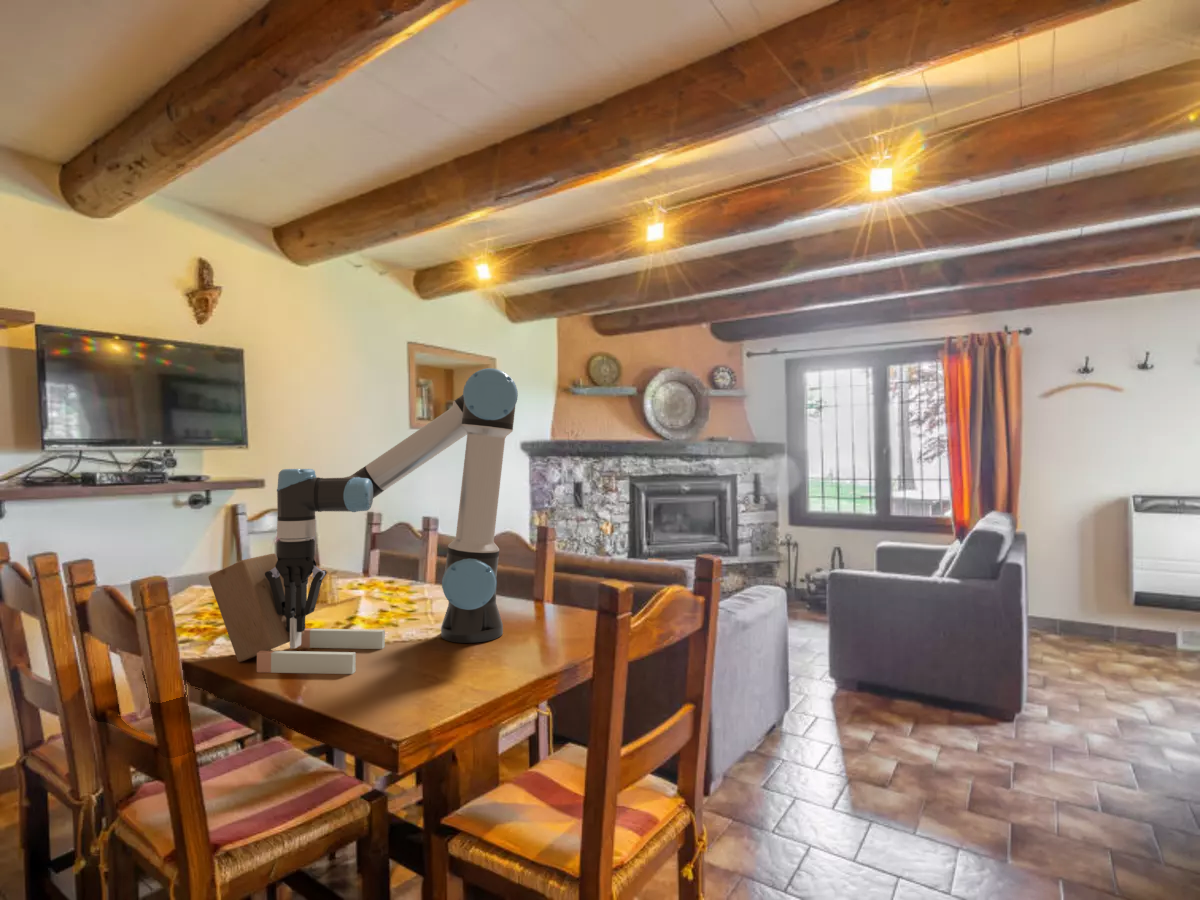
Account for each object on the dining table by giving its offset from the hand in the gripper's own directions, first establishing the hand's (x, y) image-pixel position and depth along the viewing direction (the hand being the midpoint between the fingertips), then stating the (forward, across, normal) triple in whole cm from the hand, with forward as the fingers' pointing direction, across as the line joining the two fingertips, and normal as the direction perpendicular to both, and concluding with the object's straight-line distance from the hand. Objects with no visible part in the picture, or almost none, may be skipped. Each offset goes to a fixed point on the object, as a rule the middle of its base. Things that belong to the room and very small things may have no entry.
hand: (295, 646), depth 141 cm
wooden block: (+1, +5, 0) cm, 5 cm away
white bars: (+3, -6, 0) cm, 7 cm away
